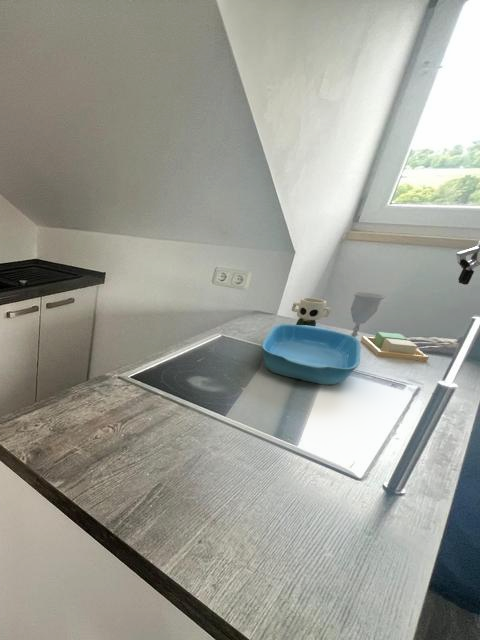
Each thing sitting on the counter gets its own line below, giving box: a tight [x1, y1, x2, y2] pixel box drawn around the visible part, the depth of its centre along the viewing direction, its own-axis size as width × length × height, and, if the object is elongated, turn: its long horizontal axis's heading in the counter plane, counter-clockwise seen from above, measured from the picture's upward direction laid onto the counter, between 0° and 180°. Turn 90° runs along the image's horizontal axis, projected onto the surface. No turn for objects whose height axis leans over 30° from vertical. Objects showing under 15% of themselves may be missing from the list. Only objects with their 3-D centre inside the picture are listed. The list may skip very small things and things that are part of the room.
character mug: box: [291, 297, 332, 327], centre depth 137 cm, size 11×7×13 cm, turn 42°
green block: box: [373, 331, 408, 348], centre depth 126 cm, size 6×5×4 cm
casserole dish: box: [261, 323, 361, 386], centre depth 116 cm, size 37×22×7 cm, turn 139°
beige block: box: [381, 338, 418, 355], centre depth 121 cm, size 6×5×4 cm
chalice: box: [350, 291, 385, 338], centre depth 125 cm, size 7×7×18 cm
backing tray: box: [360, 335, 430, 363], centre depth 124 cm, size 12×15×2 cm
